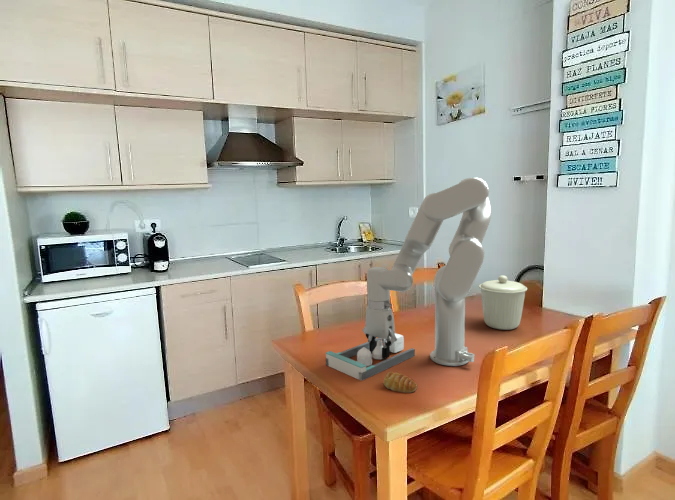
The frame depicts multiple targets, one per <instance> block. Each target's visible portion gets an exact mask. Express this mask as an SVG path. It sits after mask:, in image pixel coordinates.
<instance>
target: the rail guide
mask: <svg viewBox="0 0 675 500" xmlns="http://www.w3.org/2000/svg"><path fill="white" fill-rule="evenodd" d="M375 341H382V339H380V338H377V337H376V340H375ZM363 347H365V348H366V349H368V350H370V346H369V342H368V341H366V342H364V343H361V344H358V345H356V346H353V347H351V348H348V349H345V350H343V351H341V352H340V351H339V352H334V351H332V350H329V351H327V352H325V365H326V366H328V367H329V368H332V369H334V370H337V371H338V372H340V373H343V374H346V375H348V376H350V377H352V378H355V379H357V380H359V381H364V380H367V379H369V378H371V377H373V376H375V375H377V374H379V373H382V372H383V371H386V370H388V369H390V368H392V367H394V366H396V365H399V364H401V363H403V362H405V361H407V360H409V359H411V358H413V357H415V356H416V352H415V351H416V349H415V348H414V347H413V348H409V349H407V350H405V351H402V352H400V353H398V354H395V355H393V356H390V357H388V358H386V359H383V360H382V361H380V362H377V363H375V364H372V365H370V366H366V365H364V364H361V363H359V362H357V360H354V359H352V357H354V356H357V353H358V351H359V350H360V349H362V348H363Z"/></svg>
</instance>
